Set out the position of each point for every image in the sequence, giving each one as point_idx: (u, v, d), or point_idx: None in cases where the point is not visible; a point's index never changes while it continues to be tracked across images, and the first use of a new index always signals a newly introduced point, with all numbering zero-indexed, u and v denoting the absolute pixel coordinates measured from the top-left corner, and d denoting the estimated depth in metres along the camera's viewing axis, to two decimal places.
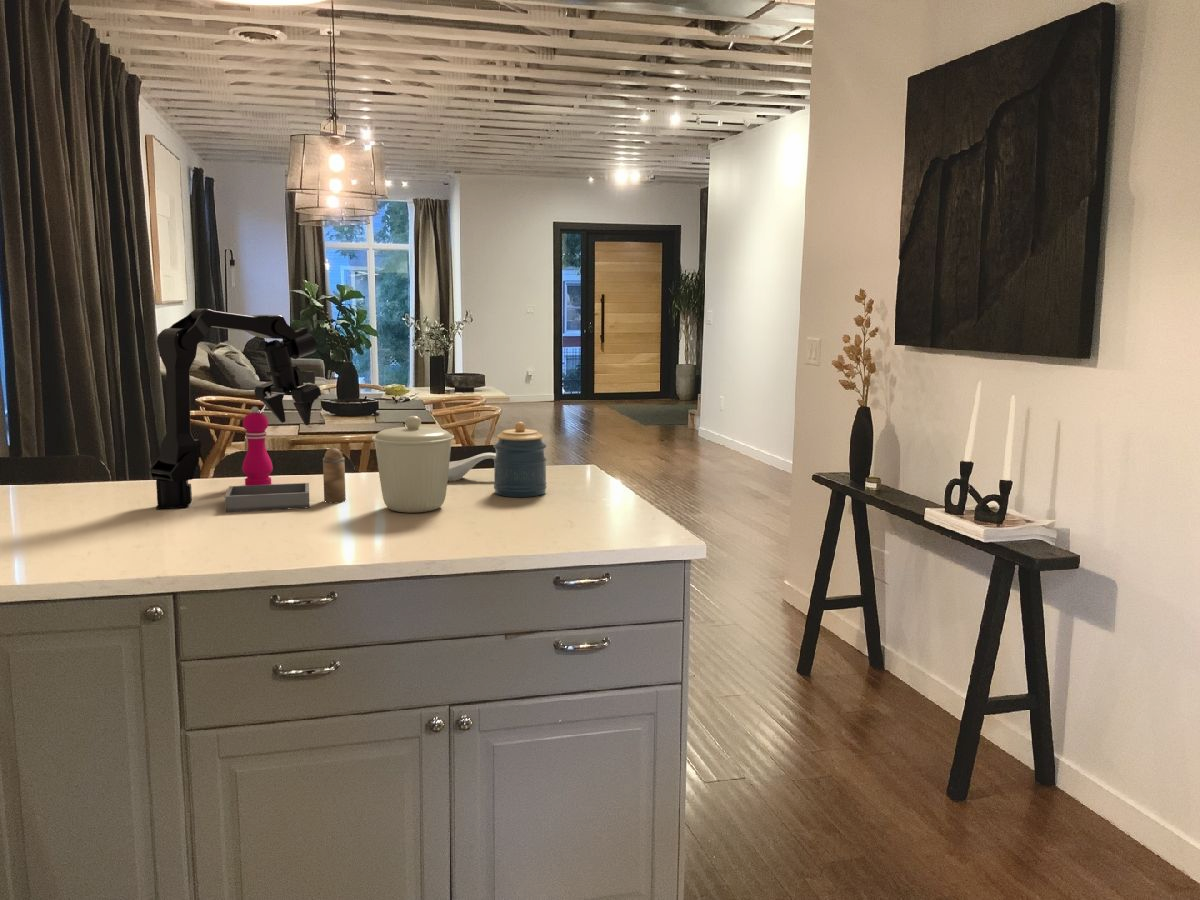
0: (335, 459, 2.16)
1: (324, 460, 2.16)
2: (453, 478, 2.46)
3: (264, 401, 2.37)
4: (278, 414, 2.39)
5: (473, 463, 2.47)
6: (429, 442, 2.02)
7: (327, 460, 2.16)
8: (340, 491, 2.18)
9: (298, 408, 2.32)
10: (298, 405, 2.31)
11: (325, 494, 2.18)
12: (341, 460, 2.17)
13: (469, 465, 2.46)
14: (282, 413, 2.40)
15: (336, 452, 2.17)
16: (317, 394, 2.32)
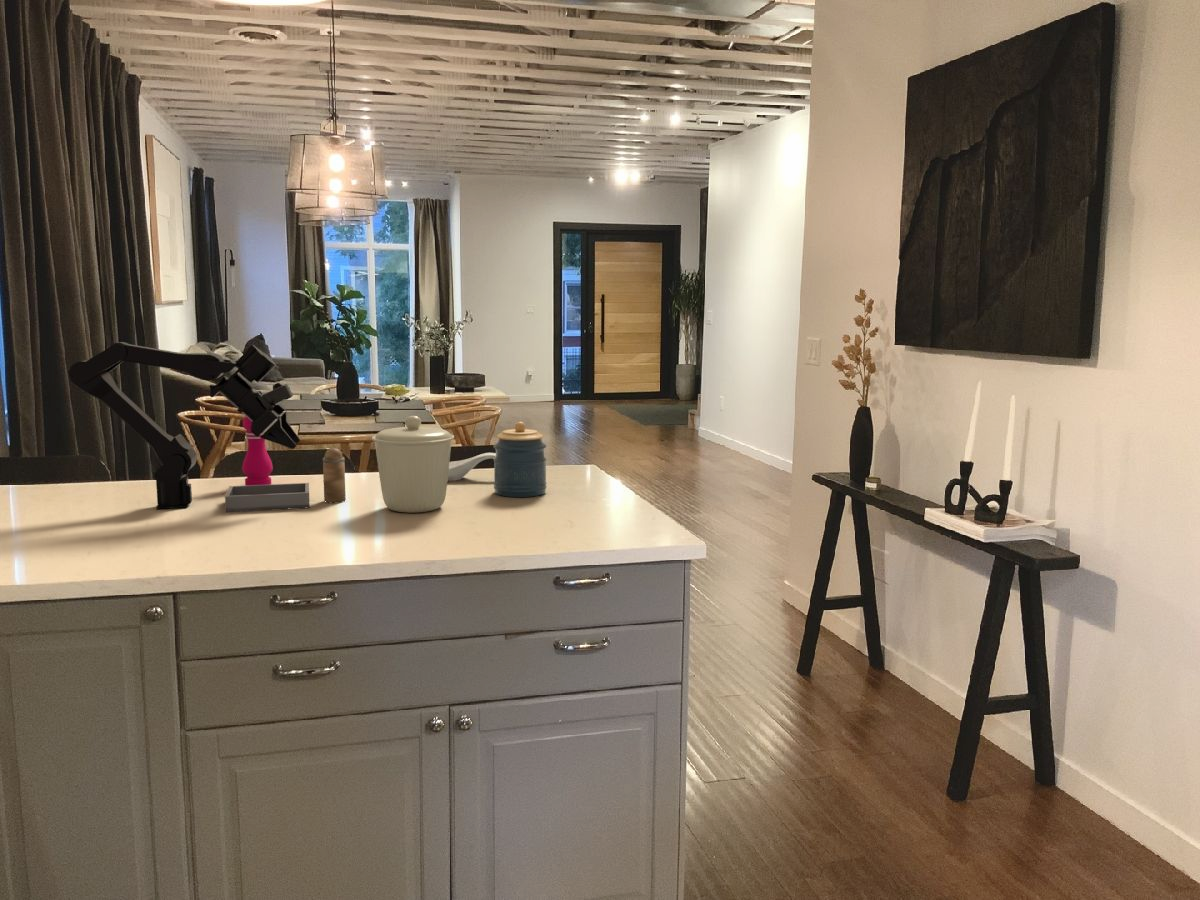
0: (335, 459, 2.16)
1: (324, 460, 2.16)
2: (454, 478, 2.46)
3: None
4: None
5: (474, 463, 2.47)
6: (429, 442, 2.02)
7: (327, 460, 2.16)
8: (340, 491, 2.18)
9: None
10: (263, 438, 2.08)
11: (325, 494, 2.18)
12: (341, 460, 2.17)
13: (470, 465, 2.46)
14: (292, 434, 2.20)
15: (336, 452, 2.17)
16: (269, 421, 2.05)
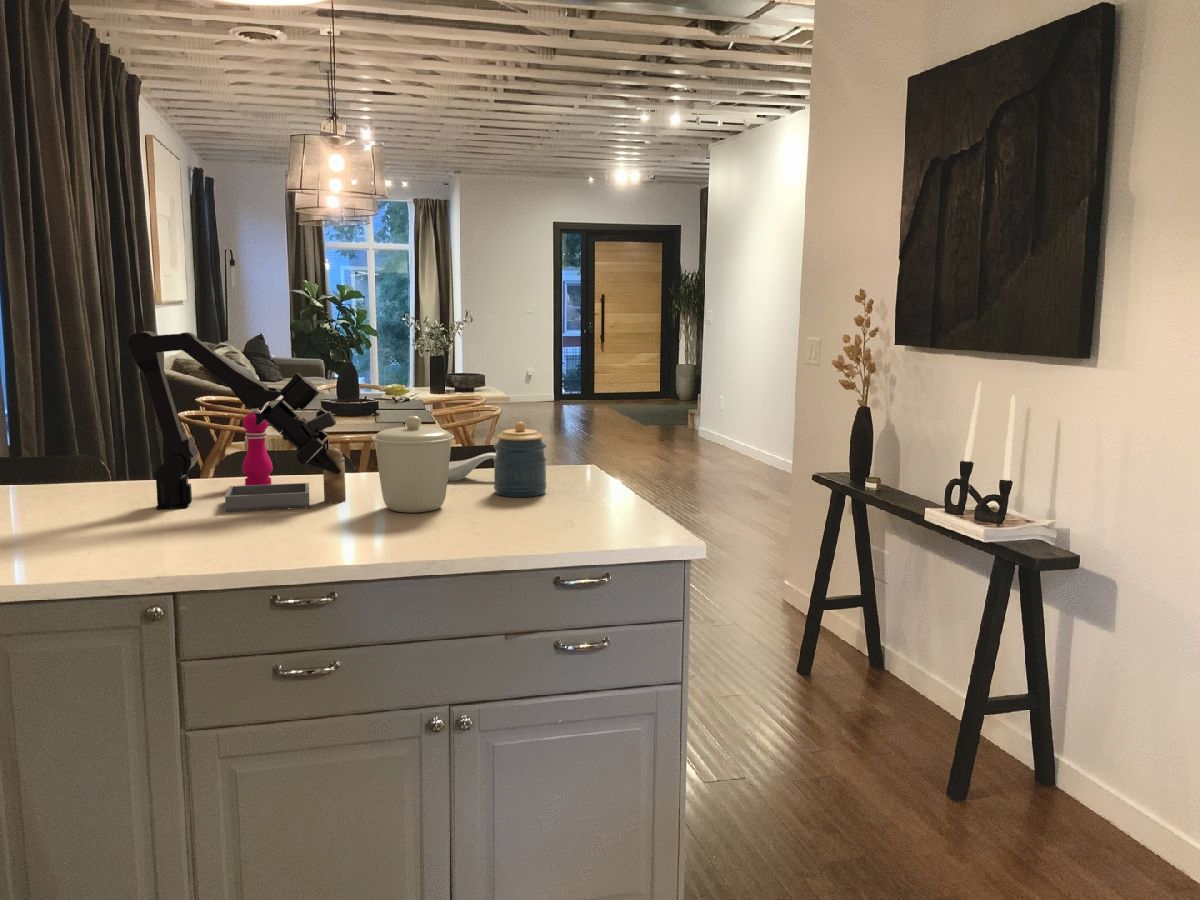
0: (335, 459, 2.16)
1: None
2: (455, 478, 2.47)
3: None
4: None
5: (475, 463, 2.47)
6: (429, 442, 2.02)
7: None
8: (340, 491, 2.18)
9: None
10: (309, 464, 2.13)
11: (325, 494, 2.18)
12: (341, 460, 2.17)
13: (471, 465, 2.46)
14: None
15: (336, 452, 2.17)
16: (315, 449, 2.08)
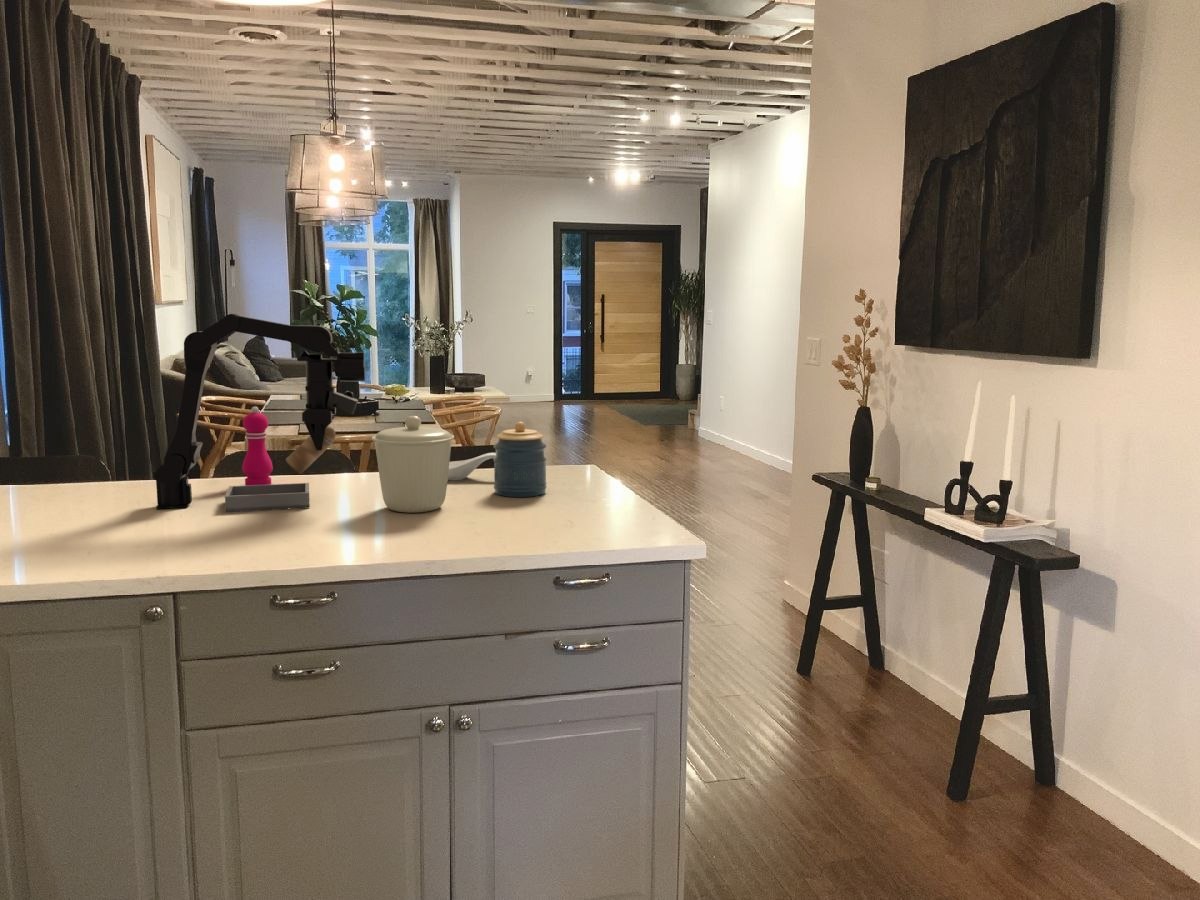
0: (326, 438, 2.15)
1: None
2: (457, 478, 2.47)
3: None
4: None
5: (477, 463, 2.47)
6: (429, 442, 2.02)
7: None
8: (305, 464, 2.15)
9: (307, 427, 2.12)
10: (305, 424, 2.11)
11: (292, 455, 2.15)
12: (330, 443, 2.16)
13: (473, 465, 2.46)
14: None
15: (332, 434, 2.16)
16: (323, 419, 2.07)
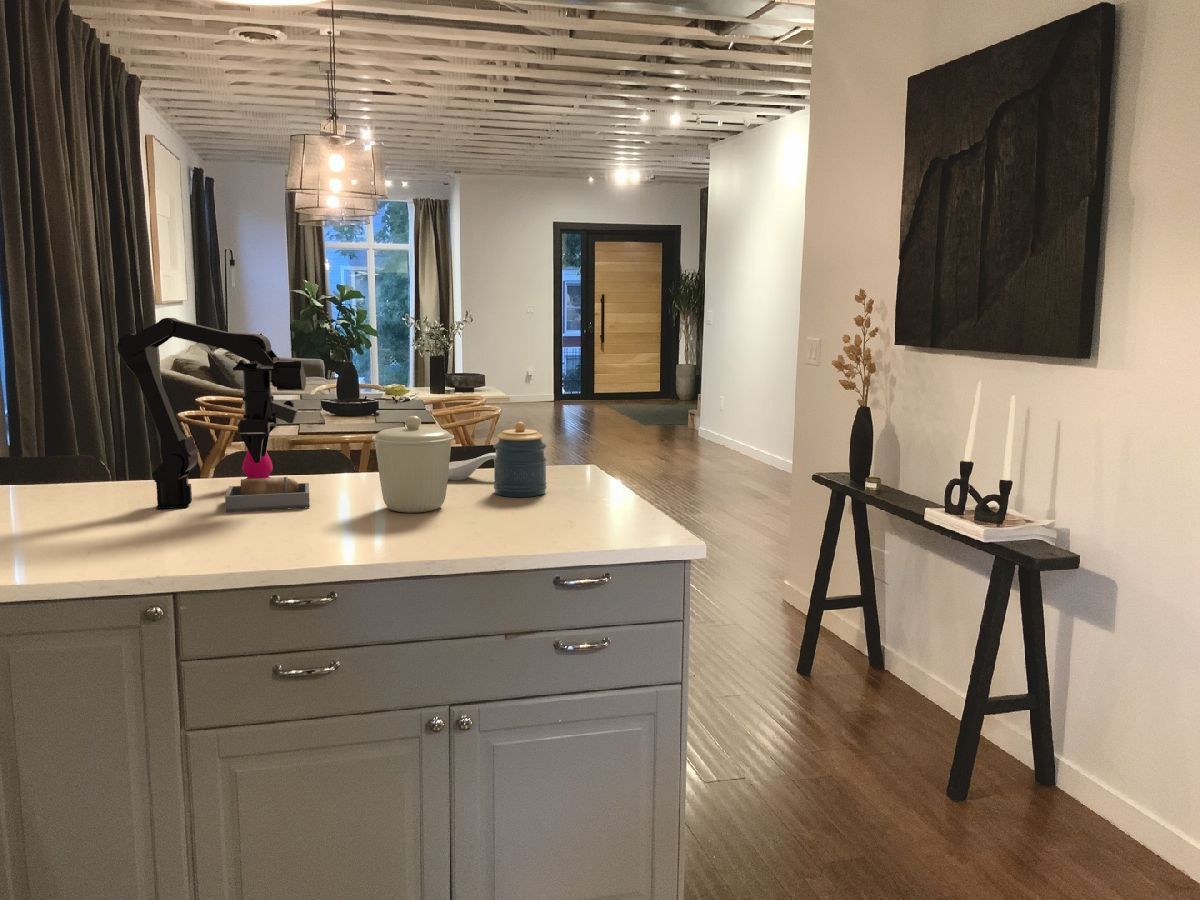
0: (287, 482, 2.17)
1: None
2: (458, 478, 2.47)
3: None
4: None
5: (478, 463, 2.47)
6: (429, 442, 2.02)
7: (286, 477, 2.18)
8: (252, 488, 2.14)
9: None
10: (241, 436, 2.05)
11: None
12: (286, 489, 2.16)
13: (474, 465, 2.46)
14: (263, 446, 2.17)
15: (294, 485, 2.17)
16: (259, 430, 2.03)
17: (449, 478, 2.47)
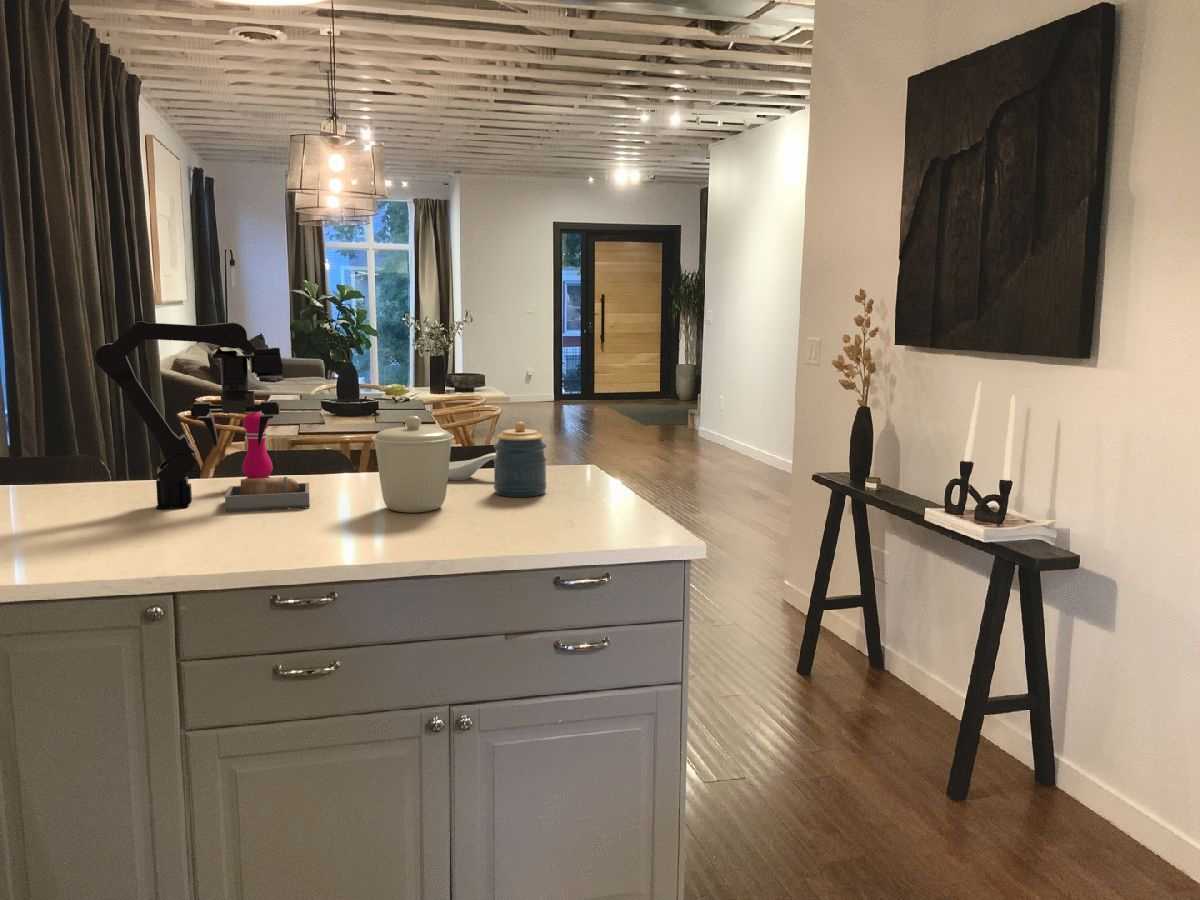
0: (287, 482, 2.17)
1: None
2: (460, 477, 2.47)
3: None
4: None
5: (480, 463, 2.47)
6: (429, 442, 2.02)
7: (286, 477, 2.18)
8: (252, 488, 2.14)
9: None
10: None
11: None
12: (286, 488, 2.16)
13: (476, 465, 2.47)
14: (258, 435, 2.17)
15: (294, 485, 2.17)
16: None
17: (451, 478, 2.47)
